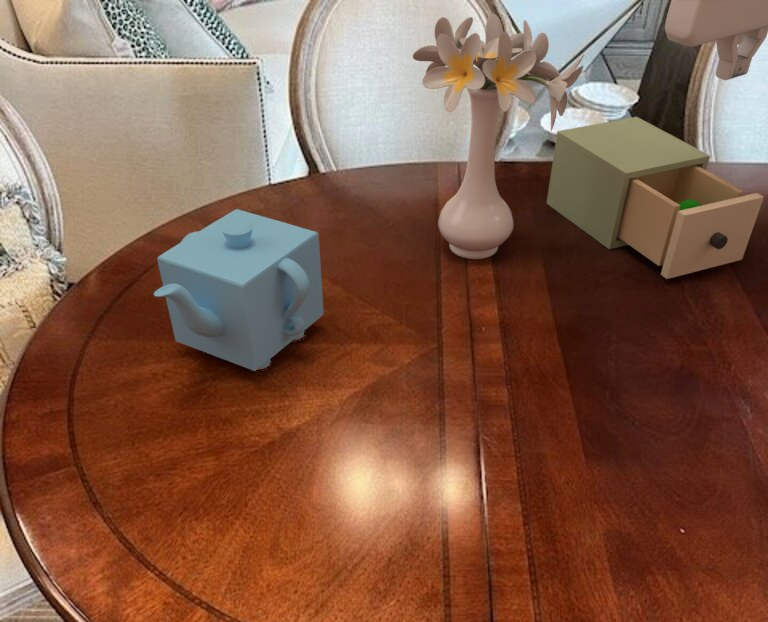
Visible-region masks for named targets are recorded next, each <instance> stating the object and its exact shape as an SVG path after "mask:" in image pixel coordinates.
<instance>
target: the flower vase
mask: <svg viewBox="0 0 768 622" xmlns="http://www.w3.org/2000/svg"><path fill="white" fill-rule="evenodd" d="M473 23H474V18H473V17H472V16H469V17H466V18H465V19H464V20H463V21H462V22H461V23H460V24H459V25H458V27H457V28H456V30H455V33H454V30H453V27H452V25H451V22H450V21H449V19H448V18H446V17H443V16H442V17H440V18H439V19H438V20H437V21H436V23H435V26H434V39H435V42H436V44H435V45H433V44H431V45H429V44H428V45H424V46H421V47H420V48H418V49H417V50H415V51H414V52H413V54H412V59H413V60H415V61H417V62H431V63H430V64H428V67H427V68H426V71H425V75H424V76H423V77H422V86H423V87H424V88H426V89H428V90H438V89H442V88H446V89H445V92H444V97H443V107H444V109H445V111H446V112H447V113H452V112H454V110H456V108H457V106H458V105H459V102H460V101H461V98H462V96H463V95H462V94H463V91H464V89H465V88H466V92H467V93H468V96H469V103H470V118H471V119H470V120H471V121H470V122H471V123H470V136H469V145H468V155H467V163H466V167H465V173H464V177H463V180H462V182H461V184H460V186H459V188H458V190H457V191H456V193H455V194H454V195H453V196H452V197H451V198H449V199H448V200H447V201H446V203H445V204H444V205H443V206H442V208H441V210H440V212H439V215H438V220H437V221H438V222H437V227H438V228H437V229H438V230H439V232H440V234H441V236H442V238H443V239H444V240H445V241H446V242H447V243H448V247H449V249H450V251H451V252H452V253H453V254H455V255H456V256H458V257H461V258H463V259H467V260H483V259H488V258H490V257H492V256H494V255H496V253H497V252H498V250H499V246H501V245H503V244H504V243H505V242H506V241H507V240H509V237H510V236H511V234H512V233H513V230H514V215H513V212H512V210H511V208H510V207H509V205H508V203H507V202H506V201H505V200H504V198H503V197H502V196H501V194H500V191H499V189H498V185H497V182H496V181H497V180H496V173H495V164H496V163H495V161H496V160H495V159H496V146H497V144H496V143H497V133H498V125H499V119H500V115H501V111H502V112H504V113H506V112H508V111H509V110H510V109H511V107H512V103H513V96H514V97H516V98H517V99H519V100H520V101H521V102H523V103H525V104H526V105H534V104H535V102H536V101H537V96H536V93H535V91H534V89H533V87H532V86H531V85H530V84H529V83H528V82H527V81H531V82H534V83H535V82H536V83H539V84H541V85H543V86H544V87H546V88H547V91H548V98H549V104H550V105H549V107H550V131H551V132H552V131H553V129H554V126H555V123H556V119H557V112H558V115H559V117H562V116H564V113H565V112H566V109H567V105H568V93H567V91H566V89H569V88H570V87H572V86H573V85H574V84H575V83H576V82H577V80H578V79H579V77H580V75H581V74H582V72H583V70H584V65H580V64H581V63H582V60H583V58H584V56H585V54H582V55H581V56H580V57H579V58H578V59H577V60H576V61H575V62H574V63H572V64H571V65H570V66H569V67H568V68H567V69H566V70H564V71H563V72H562V73H560V72H559V70H558V69H557V67H555V66H554V65H553V64H551V63H550V62H548V61H543V60H544V59H545V58H546V56H547V54H548V52H549V45H550V44H549V38H548V36H547V34H546V33H545V32H543V31H542V32H540V33H539V34H538V35H537V36H536V37H535V39H534V41H533V34H532V30H531V27H530V25H529V23H528V21H527V19H524V20H523V23H522V24H523V26H522V27H523V32H519V33H515V34H512V35H510V36H509V34H508V33H507V32H506V31H504V29H503V24H502V22H501V19H500V17H499V16H498V15H497V14H495V13H492V14H490V15H489V16H488V18H487V20H486V23H485V32H484V33H485V42H484V41H483V40H482V39H481V36H480V35H479V34H478V32H477V33H476V32H474V33H472V34H470V35H469V36H468V33H469V32H470V29H471V27H472V25H473ZM467 36H468V37H467ZM578 66H579V67H578ZM527 74H529V75H527ZM548 79H549V80H548Z"/></svg>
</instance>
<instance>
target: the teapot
mask: <svg viewBox="0 0 768 622" xmlns="http://www.w3.org/2000/svg"><path fill="white" fill-rule="evenodd" d="M319 235H320V234H319V232H318V231H315V230H311V229H307V228H305V227H301V226H297V225H294V224H290V223H288V222H285V221H280V220H277V219H273V218H269V217H266V216H263V215H259V214H256V213H251V212H249V211H246V210H242V209H238V208H236V209H234V210H233V211H230V212H229V213H227V214H225V215H224V216H222V217H221V218H219V219H217V220H216V221H214V222H212V223H210V224H209V225H207V226H206V227H204V228H202V229H201V230H199V231H193V232H189V233H188V234H186V235H185V236H184V237H183V239H182V240H181V241H180V242H179V243H178V244H176V245H175V246H173V247H171V248H170V249H168V250H166V251H165V252H163V253H162V254H160V255H158V257H157V258H156V260H157V264H158V270H159V275H160V278H161V282H162V286H160V287H159V288H158V289H156V290H155V291H154V292H153V296H154V297H156V298H157V297H158V298H165V301H166V304H167V310H168V314H169V319H170V323H171V328H172V332H173V336H174V340H175V342H176V343H179V344H182V345H185V346H187V347H190V348H193V349H194V350H198V351H201V352H202V351H203V352H202V353H205V352H206V353H205V354H209V355H211V356H214V357H216V358H218V359H221V360H224V361H226V362H230V363H233V364H234V365H237V366H239V367H243V368H246V369H248V370H250V369H251V370H250V371H253V372H257V371H256V370H257V369H260V368H261V369H263V368H265V367H267V366H268V365H269V364H270V362H271V363H272V361H271V359H272V358H273V357H275V355H277V354H278V353H279V352H280V351H282V350H283V349H285V347H287V346H288V345H289V344H290V343H291V342H293V341H292V340H294V339H300V338H301V337H303V335H304V332H305V331H306V330H307V329H308V328H310V326H312V325H313V324H314V323H315V322H317V321H318V320H319V319H321V317H322V316H324V314H325V312H324V298H323V283H322V282H323V280H322V265H321V249H320V236H319Z"/></svg>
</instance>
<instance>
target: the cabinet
mask: <svg viewBox="0 0 768 622" xmlns="http://www.w3.org/2000/svg"><path fill="white" fill-rule="evenodd" d="M710 158H711V155H710V154H708V153H706V152H704V151H703V150H700V149H698V148H696V147H695V146H693V145H691V144H689V143H687V142H685V141H684V140H681V139H679V138H678V137H676V136H674V135H672V134H670V133H668V132H666V131H664V130H662V129H661V128H659V127H657V126H655V125H653V124H651V123H650V122H648V121H645V120H644V119H642V118H640V117H638V116H633V117H627V118H621V119H616V120H610V121H606V122H600V123H595V124H588V125H584V126H578V127H572V128H568V129H562V130H557V131H556V138H555V144H554V150H553V156H552V163H551V171H550V176H549V177H550V178H549V185H548V191H547V198H546V205H548V206H549V207H550V208H551V209H553V210H555V211H556V212H557V213H559V214H560V215H561V216H563V217H564V218H566V219H567V220H568V221H569V222H571V223H572V224H574V225H575V226H576V227H578V228H579V229H580V230H582V231H583V232H585V233H586V234H587V235H589V236H590V237H591V238H593V239H594V240H595V241H597V242H598V243H600V244H601V245H603V246H604V247H605V248H606V249H608V250H612V249H616V248H617V249H618V248H620V247H625V246H629V245H628V244H627V243H625V242H624V241H623V240H621V239H620V238H618V237H617V234H618V229H619V225H620V220H621V216H622V211H623V207H624V202H625V198H626V193H627V189H628V184H629V180H630V178H635V177H640V176H644V175H649V174H654V173H659V172H664V171H668V170H673V169H678V168H683V167H687V166H692V165H697V166H699V167H701V168H702V169H704V170H706V171H707V168H708V165H709V161H710Z"/></svg>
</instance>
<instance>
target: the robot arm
mask: <svg viewBox="0 0 768 622" xmlns="http://www.w3.org/2000/svg"><path fill="white" fill-rule="evenodd" d="M664 30H665V34H666V36H667V39H668V40H669V41H671V42H674V43H676V44H679V45H682V46H685V47H689V48H693V47H697V46H701V45H704V44H709V43H712V42H715V44H716V50H717V56H718V63H717V66H716V70H715V76H716V78H717V79H720V80H723V81H728V80H731V79H734V78H739V77H741V76H744V75H745V76H746V75H747V74H748V73H749V69H750V66H751V63H752V60H753V58H754V56H755V55H756V53H757V52H758V50H759V49H760V47H761V46H762V44H763V43H764V41H765V40H766V39H767V36H768V0H671V1H670V4H669V7H668V12H667V15H666V19H665V23H664Z"/></svg>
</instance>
